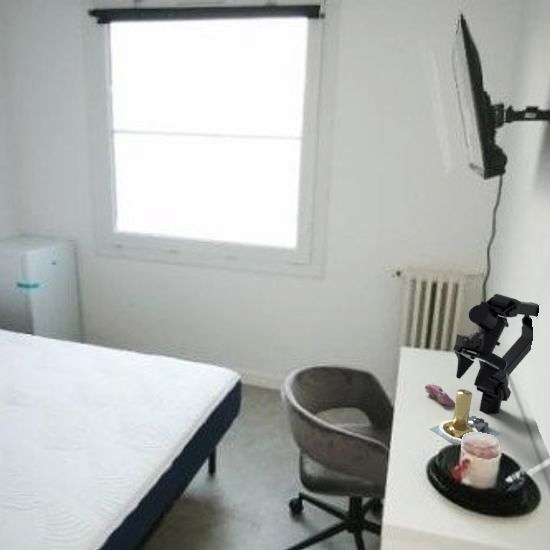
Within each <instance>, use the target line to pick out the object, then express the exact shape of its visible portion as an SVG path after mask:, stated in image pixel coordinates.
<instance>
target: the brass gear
mask: <svg viewBox="0 0 550 550" xmlns="http://www.w3.org/2000/svg"><path fill="white" fill-rule="evenodd" d="M472 397H473V393H472V392H471V391H470V390H467V389H461V388H460V389H458V390H457V391H456V395H455V405H454V410H453V418H452V419H453V421H450V423H449V424H448V423H447V424H446V429H445V431H447V433H448V434H449V435H451V436H453V437H456V438H460V439H462V437H463V435H464V434H466V433H469V432H473V430H471V427H470V426H469V425H468V418H469V417H470V413H471V412H470V411H471V404H472Z"/></svg>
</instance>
